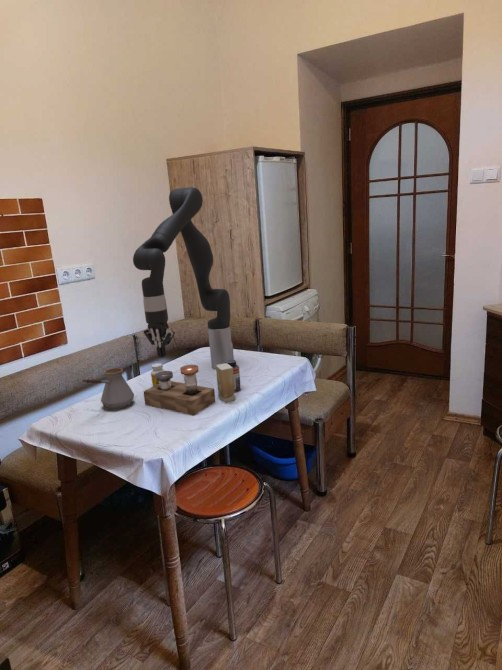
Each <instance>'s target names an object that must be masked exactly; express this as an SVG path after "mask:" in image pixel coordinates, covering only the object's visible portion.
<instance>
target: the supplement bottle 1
mask: <svg viewBox="0 0 502 670" xmlns="http://www.w3.org/2000/svg"><path fill="white" fill-rule="evenodd" d="M161 371H166V370H165V369H164V367H163V364H162V363H160V362H159V363H158V362H157V363H153V364H152V365H151V372H150V377H151V382H152V383H151V384H152V387H154V386H156V385H158V384H159V380H156V376H155V374H156V373H158V372H161Z"/></svg>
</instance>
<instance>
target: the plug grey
mask: <svg viewBox="0 0 502 670" xmlns="http://www.w3.org/2000/svg"><path fill="white" fill-rule="evenodd" d="M155 376H156V380H159V384H160V390H163V391H167V390H169V389H171V388H172V387H171V381H172V380H171V379H173V378H174V372H173V371H171V370H165V371H161V372H158V373H156V374H155Z"/></svg>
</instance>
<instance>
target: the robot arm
mask: <svg viewBox="0 0 502 670" xmlns="http://www.w3.org/2000/svg"><path fill="white" fill-rule="evenodd" d="M168 201H169V202H168V203H169V205H170V206H169V207H170V209H171V213H172V214H171V215H170V216H169V217H167V218H165V219H164V220H163V221H162V222H161V223H160V224H159V225H158V226H157V227H156V229H155V230H154V232H153V233H152V234H151V236H150V237H149V238H148V239H147V240H145V241H144V242H143V243H142V244H141V245H140V246H138V247H137V248H136V250H135V252H134V253H133V256H132V262H133V266H134V267H135V269H137V270H140V271H150V273H149V277H145V278H143V279H142V280H141V289H142V296H143V299H142V300H143V311H144V316H145V322H146V324H147V328H146V329H145V330H143V334H144V336H145V337H146V338H147V341H149V343H150V345H151V346H153V345H154V347H155V348H156V355H157V356H158V358H161V359H162V358H165V357H166V355H167V349H166V346H168V345H171V342H172V340H173V338H174V335H175V334H176V332H175V331H174V330H172V331H171V330H170V327H169V324H168V322H169V314H168V307H167V306H168V305H167V299H166V295H165V288H164V287H165V286H164V277H165V276H164V275H165V268H166V256H165V253H166V252H167V251H168V250H169V249H170V247H171V246H172V244H173V242H174V241H175V239H176V238H177V237H178V235H179V234H181V236H182V240H183V243H184V246H185V248H186V252H187V256H188V259H189V262H190V265H191V269H192V270H193V275H194V276H195V277H194V278H195V281H196V284H197V290H198V296H199V299H200V300H199V301H200V303H201V306H202V308H203V309H204V310H205V311H208V312H216V317H215V318H211V319H209V320H208V321H207V332H208V341H209V342H208V343H209V351H210V352H209V354H210V363H211V368H212V369H215V370H216V365H219V364H224V363H225V361H226V360H229V359H234V360H235V357H234V346H233V345H234V344H233V342H232V335H231V334H232V333H231V324H230V322H231V299H230V294H229V292H228V291H227V290H226V289H224V288H212V286H211V282H210V274H211V272H212V271H211V270H212V267H213V264H214V255H213V252H212V248H211V244H210V243H209V241H208V239H207V237H206V236H205V235H203V233H202V232H201V231H200V230H199V229H198V228H197V227H196V226H195V225H194V223H193V221H192V219H193V218H194V217H195V216H196V215H197V214H198V213H199V212H200V211H201V208H202V207H203V195H202V192H201V191H200V189H198V188H196V187H194V186H193V187H192V186H191V187H190V186H189V187H180V188H175V189H172V190H171V191H170V192H169V196H168Z"/></svg>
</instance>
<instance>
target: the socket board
mask: <svg viewBox="0 0 502 670" xmlns="http://www.w3.org/2000/svg"><path fill="white" fill-rule="evenodd" d="M171 387H172V388H171V389H169V390H167V391H163V390H160V384H158V385H156V386H154V387H153V386H151V387H150V388H149V387H148V389H145V390H144V391H142V392H143V400H144V405H145V406H149V407H155V408H158V409H163V410H168V411H171V412H177V413H182V414H184V415H185V414H186V415H189V416H190V415H191V416H195V415H196V414H198V413H200V412H202V411H203V410H205V409H207V408H208V407H210V406H211V405H213V404H215V403H216V394H215V388H214V387H208V386H207V387H206V386H201V385H197V389H198V394H196V395H194V396H189V395H186V388H185V382H180V381H175V380H174V381H173V380H171Z"/></svg>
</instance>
